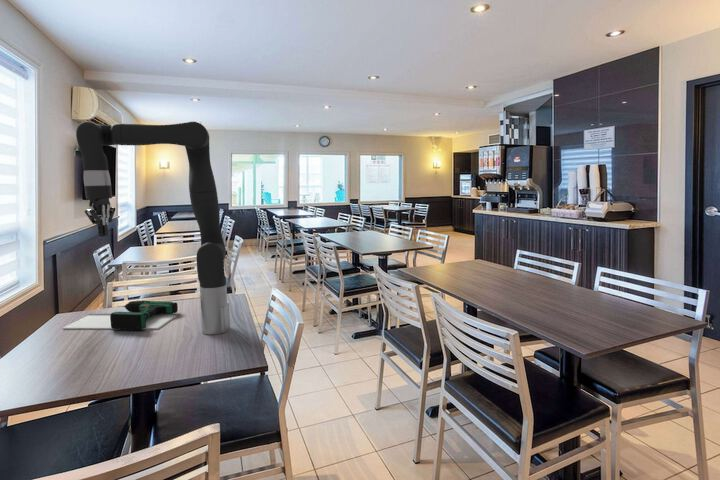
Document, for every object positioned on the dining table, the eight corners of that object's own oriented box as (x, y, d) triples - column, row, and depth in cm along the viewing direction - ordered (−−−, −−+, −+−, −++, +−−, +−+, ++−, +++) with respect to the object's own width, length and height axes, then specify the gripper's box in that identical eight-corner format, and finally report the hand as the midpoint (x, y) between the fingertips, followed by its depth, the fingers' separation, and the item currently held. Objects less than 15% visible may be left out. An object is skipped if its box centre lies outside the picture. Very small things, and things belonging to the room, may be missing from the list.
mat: (177, 315, 170) (176, 313, 170) (157, 329, 155) (157, 326, 154) (90, 315, 171) (90, 313, 171) (62, 329, 155) (62, 326, 155)
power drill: (140, 315, 150) (180, 298, 175) (71, 313, 155) (119, 297, 180) (141, 330, 151) (181, 311, 175) (72, 327, 156) (120, 310, 180)
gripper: (95, 184, 130) (101, 238, 133) (120, 184, 144) (126, 233, 146) (72, 185, 131) (79, 239, 133) (99, 184, 144) (105, 234, 146)
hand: (103, 236), depth 140 cm, fingers closed
